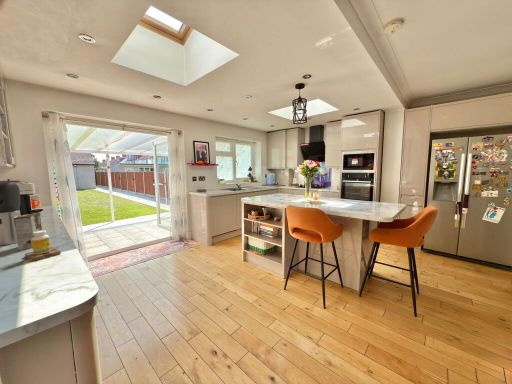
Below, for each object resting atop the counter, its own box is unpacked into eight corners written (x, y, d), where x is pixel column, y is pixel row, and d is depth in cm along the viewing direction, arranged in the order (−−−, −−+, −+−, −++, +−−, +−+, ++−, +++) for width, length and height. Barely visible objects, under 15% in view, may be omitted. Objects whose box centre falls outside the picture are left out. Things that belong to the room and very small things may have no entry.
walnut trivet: (25, 256, 92) (24, 253, 91) (52, 250, 99) (51, 247, 99) (33, 261, 86) (32, 258, 86) (60, 254, 94) (60, 250, 93)
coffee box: (28, 244, 109) (24, 214, 108) (44, 242, 112) (40, 213, 110) (17, 249, 101) (12, 217, 99) (35, 247, 104) (30, 216, 102)
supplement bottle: (35, 252, 93) (32, 231, 92) (51, 249, 96) (49, 229, 95) (32, 255, 89) (29, 234, 88) (49, 252, 92) (47, 231, 91)
